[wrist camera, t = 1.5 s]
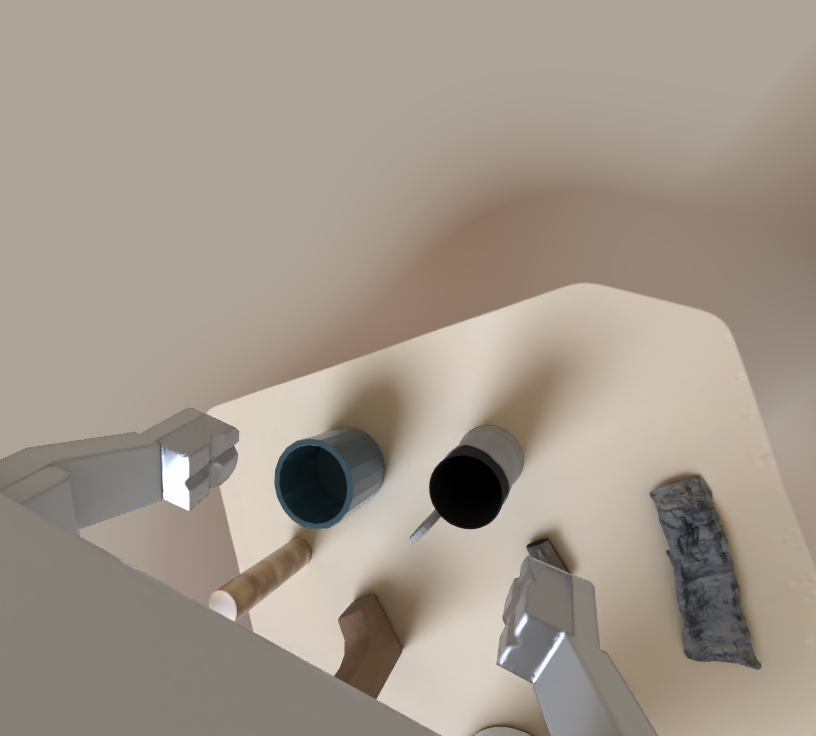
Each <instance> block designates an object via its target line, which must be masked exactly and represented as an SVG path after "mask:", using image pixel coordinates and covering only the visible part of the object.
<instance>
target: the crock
mask: <svg viewBox="0 0 816 736" xmlns="http://www.w3.org/2000/svg"><path fill="white" fill-rule="evenodd" d="M383 478H384V461H383V457H382V454H381V451H380V449H379V447H378V446H377V444H376V443H375V442H374V440H373V439H372V438H371V437H370V436H369V435H367V434H366V433H364V432H362V431H360V430H358V429H355V428H347V427H346V428H339V429H336V430H331V431H328V432H325V433H322V434H318V435H315V436H312V437H309V438H305V439H302V440H299V441H296V442H295V443H293V444H292V445H290V446H289V447H287V448H286V449H285V451H284V452H283V454H282V455H281V456H280V458H279V460H278V463H277V466H276V469H275V489H276V494H277V498H278V500H279V502H280V504H281V506H282V508H283V510H284V511H285V512H286V513H287V514H288V516H289V517H290V518H291V519H292V520H293V521H295V522H296V523H298V524H300V525H301V526H303V527H305V528H310V529H314V530H320V529H328V528H330V527H332V526H334V525H335V524H337V523H339V522H340V521H342V520H343V519H344V518H346V517H347V516H349V515H350V514H351V513H353V512H354V511H355V510H357V509H358V508H359V507H361V506H362V505H364V504H365V503H366V502H368V501H369V500H370V499H371V498H372V497H373V496H374V495H375V494H376V493H377V492H378V490H379V489H380V487H381V484H382V482H383Z"/></svg>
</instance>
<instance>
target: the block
mask: <svg viewBox="0 0 816 736" xmlns="http://www.w3.org/2000/svg"><path fill="white" fill-rule="evenodd" d="M527 550H528V552H529V554H530V556H531V557H533V558H535V559H537V560H540V561H542V562H544V563H547V564H549V565H551V566H554V567H556V568H558V569H561V570H563V571H565V572H568V573H569V574H570V572H569V571H568V569H567V567H566V566H565V564H564V563H563V561H562V559H561V558H560V556H559V555H558V553H557V551H556V550H555V548H554V547H553V545H552V544H551V542H550V540H549V539H548V538H545V539H542V540H538V541H536V542H533V543H530V544H528V545H527Z"/></svg>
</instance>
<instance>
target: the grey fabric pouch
mask: <svg viewBox="0 0 816 736" xmlns="http://www.w3.org/2000/svg"><path fill="white" fill-rule="evenodd" d="M650 496H651V497H652V499H653V500H654V502H655V503H656V507H657V510H658V513H659V520H660V523H661V526H662V528H663V531H664V534H665V535H666V538H667V540H668V543H669V547H670V550H667V551H666V552H667V555H668V556H669V558H670V560H671V563H672V565H673V568H674V574H675V577H676V587H677V589H676V590H677V598H678V604H679V609H680V612H681V614H682V617H683V619H684V622H685V627H684V630H683V633H682V638H683V642H684V646H685V648H684V653H685V655H686V657H687V658H689V659H693V660H696V661H700V662H701V661H705V662H706V661H709V662H710V661H720V662H728V663H729V662H731V663H738V664H741V665H744V666H746V667H750V668H754V669H756V670H757V669H760V668H761V664H760V662H759V661H758V660H757V659H756V656H755V655H754V652H753V649H752V646H751V643H750V642H749V641H750V640H749V639H750V633H749V631H748V629H747V626H746V624H745V623H746V622H745V618H744V616H743V613H742V611H741V604H740V596H739V595H740V594H739V593H740V590H739V588H740V587H739V585H738V583H737V580H736V576H735V574H734V569H733V566H734V565H733V561H732V559H731V556H730V553H729V552H728V542H727V539H726V535H725V533H724V530H723V527H722V525H721V523H720V520H719V517H718V514H717V512H716V510H715V508H714V507H713V503H712V502H711V497H712V494H711V492H710V490H709V489H708V487H707V485H706V482H705V481H704V479H703V478H701V477H700V476H697V477H693V478H690V479H687V480H684V481H681V482H676V483H675V484H670V485H667V486H665V487H660V488H657V489H654V490H653V491H651V492H650Z"/></svg>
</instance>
